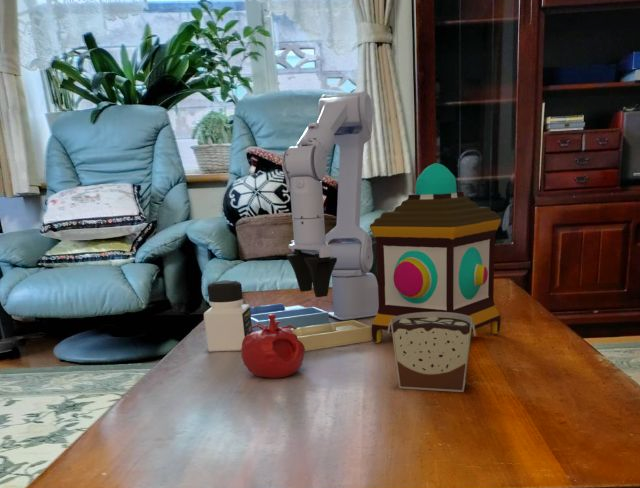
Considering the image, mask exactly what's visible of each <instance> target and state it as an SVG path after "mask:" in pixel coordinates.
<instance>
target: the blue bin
mask: <svg viewBox="0 0 640 488" xmlns="http://www.w3.org/2000/svg"><path fill="white" fill-rule="evenodd" d="M328 313H329V311H326V310H324V309H320V308H318V307H316V306H310V307H305V308H301V309H293V310H285V311H278V312H270V313H262V314H255V315H251V324H252V327H253V326H255V324H262V325H265V326H268V327H269V325H270V319H269V317H268V316H269V315H270V314H275V316H276V318H275V323H276V322H277V321H278V322H280V321H281V323H279V324H278V328H281V327H286V326H288V325H292V326H293V327H295V328H300V327H307V326H314V325H321V324H328V323H330V321H329V319H330V317H329V315H328ZM259 326H260V327H262V328H264V327H263V326H261V325H259ZM288 329H293V328H292V327H289V328H288ZM260 330H262V329H260V328H259V327H255V328H253V329H252V333H253V332H256V331H260Z"/></svg>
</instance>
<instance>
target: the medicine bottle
mask: <svg viewBox="0 0 640 488" xmlns="http://www.w3.org/2000/svg"><path fill="white" fill-rule="evenodd" d="M242 286H243V285H242V283H241V282H240V281H238V280H234V279H223V280H222V279H221V280H215V281H212V282H210V283H209V284H208V285H207V287H206V288H207V294H208V296H207V297H208V304H209V306H210V308H208V309H207V310H206V311H205V312H204V313H203V321H204V328H205V329H204V330H205V337H206V343H207V344H206V345H207V352H210V353H212V352H213V353H214V352H236V351H239V352H241V348H242V342H243V339H244V338H245V337H246V336H247V335H249V334H251V333H253V331H252V329H250V328H252V324H251V314H250V308H251V305H250V304H248V303H244V297H243V287H242ZM249 329H250V330H249Z"/></svg>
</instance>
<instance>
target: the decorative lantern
mask: <svg viewBox="0 0 640 488" xmlns="http://www.w3.org/2000/svg"><path fill="white" fill-rule="evenodd" d="M415 182H416V183H415V194H414V193H412V194H408V197H407V199H405V200H403V201H401V203H400V205H398V206H396V207H395V208H394V210H393V211H385V212H382V213H381V214H380V216H379V217H377V218H375V219H374V221H373V222H372V223H370V225H369V229H370V232H371V233H372V235H373V237H374V239H375V243H376V261H377V262H376V268H377V269H376V270H377V272H376V273H377V283H378V301H379V308H378V312H377V314H376V316H374V319H373V320H372V324H371V327H372V341H373V343H375V344H380V343H381V341H382V339H383V330H384V331H388V327H389V323H391V319H392V318H393V317H396V316H399V315H404V314H410V313H419V312H451V313H459V314H464V315H467V316H469V317H471V318H472V322H473V323H474V326H475V330H477V329H479V328H481V327H484V326H486V325H489V324H490V325H489V327H490V332H491V334H493V335H497V334H498V333H499V332H500V330H501V315H500V312H499V310H498V308H497V306H496V304H495V302H494V289H495V287H494V285H495V253H496V252H495V251H496V250H495V247H496V234H497V231H498V229H499V227H500V225H501V221H502V216H499V215H498V214H497V212H496V211H492V210H491V208H490V207H489V206H479V205H478V204H477V202H474V201H472V200H471V199H470V197H468V196H465V194H464V191H457V181H456V176H455V175H454V174H453V173H452V172H451V171H450V169H448V167H446V166H445V165H444V164H441V163H436V162H434V163H433V164H430V165H428V166H427V167H426V168H424V169H423V170H422V172H421V173H420V174H419V175H418V177H417V178H416V181H415Z"/></svg>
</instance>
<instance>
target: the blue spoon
mask: <svg viewBox="0 0 640 488" xmlns="http://www.w3.org/2000/svg"><path fill="white" fill-rule="evenodd" d="M301 308H306V307H305V306H303V305H292V306H285V304H283V303H272V304H266V305H265V304H264V305H257V306H252V307H251V306H250V314H251V315H255V314H262V313H270V312H278V311H285V310H293V309H301Z"/></svg>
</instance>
